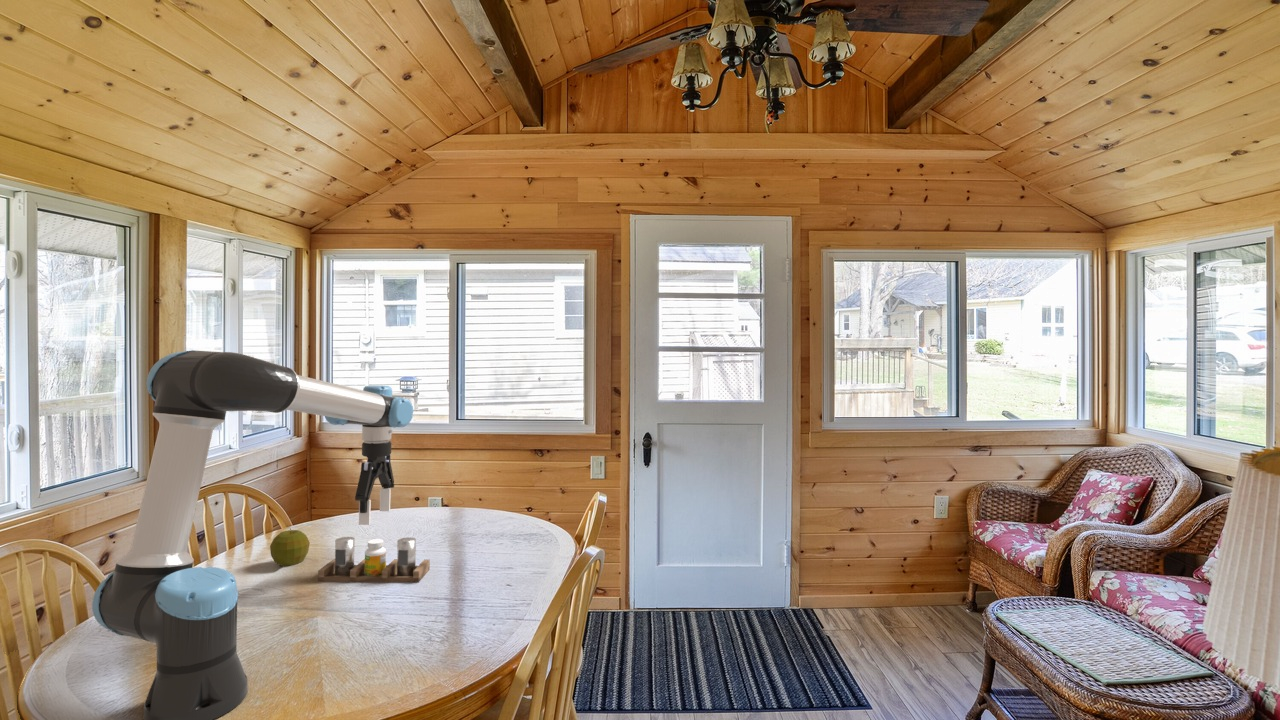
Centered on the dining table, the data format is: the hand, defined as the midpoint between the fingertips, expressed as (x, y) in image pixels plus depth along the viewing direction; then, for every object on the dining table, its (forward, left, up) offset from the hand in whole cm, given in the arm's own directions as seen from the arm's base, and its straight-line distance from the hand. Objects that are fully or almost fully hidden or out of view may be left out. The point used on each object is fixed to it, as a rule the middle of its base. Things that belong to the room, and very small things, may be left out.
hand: (375, 517), depth 165 cm
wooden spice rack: (0, 0, -17) cm, 17 cm away
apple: (+10, +29, -18) cm, 35 cm away
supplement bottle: (0, 0, -17) cm, 17 cm away
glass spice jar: (0, -9, -16) cm, 18 cm away
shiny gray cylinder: (0, +8, -16) cm, 18 cm away
